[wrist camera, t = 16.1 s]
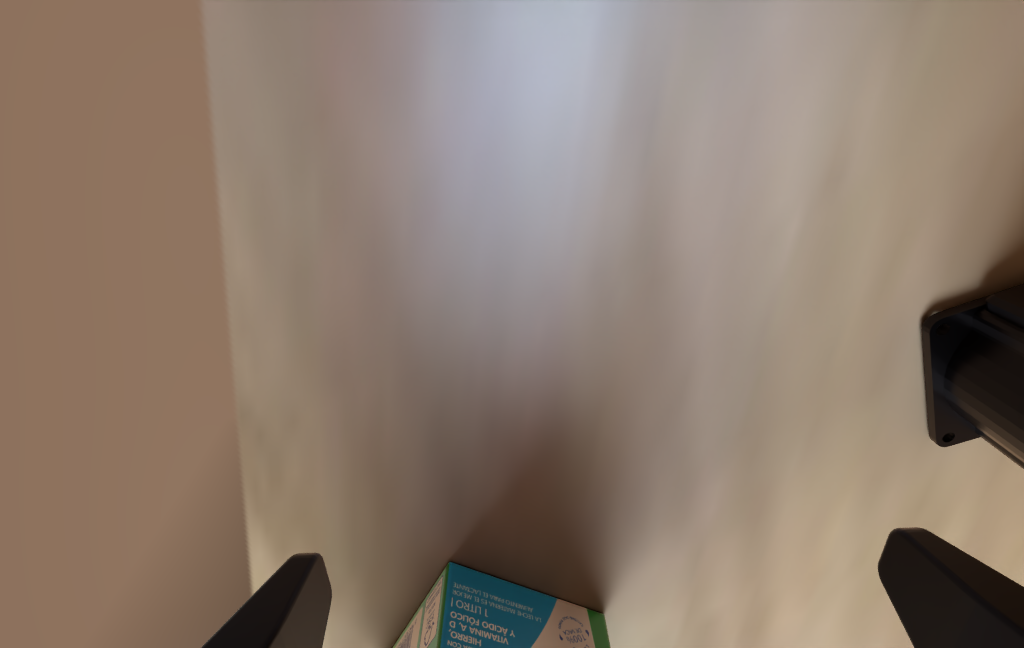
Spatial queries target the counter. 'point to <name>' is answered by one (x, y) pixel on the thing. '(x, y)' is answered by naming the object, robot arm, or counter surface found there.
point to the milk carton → (498, 616)
